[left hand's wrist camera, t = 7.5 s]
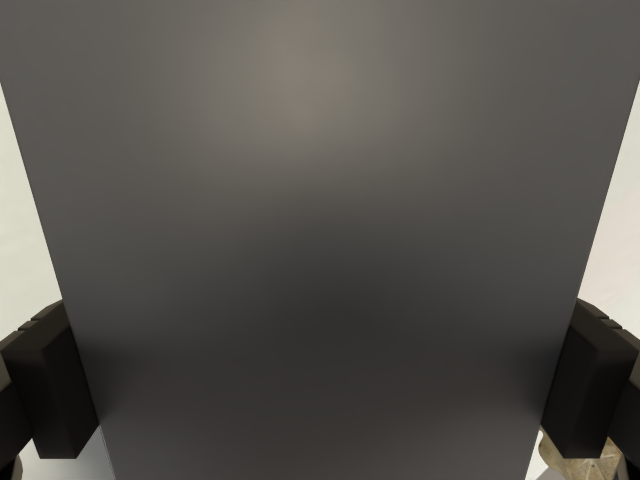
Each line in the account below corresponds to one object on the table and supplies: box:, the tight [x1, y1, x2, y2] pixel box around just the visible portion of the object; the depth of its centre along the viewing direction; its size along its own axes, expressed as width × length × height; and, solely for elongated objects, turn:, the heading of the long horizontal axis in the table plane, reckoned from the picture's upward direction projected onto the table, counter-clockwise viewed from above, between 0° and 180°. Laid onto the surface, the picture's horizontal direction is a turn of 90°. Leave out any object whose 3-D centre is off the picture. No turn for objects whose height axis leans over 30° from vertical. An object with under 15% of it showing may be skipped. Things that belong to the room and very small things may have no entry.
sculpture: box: [538, 425, 622, 480], centre depth 29 cm, size 6×7×15 cm
